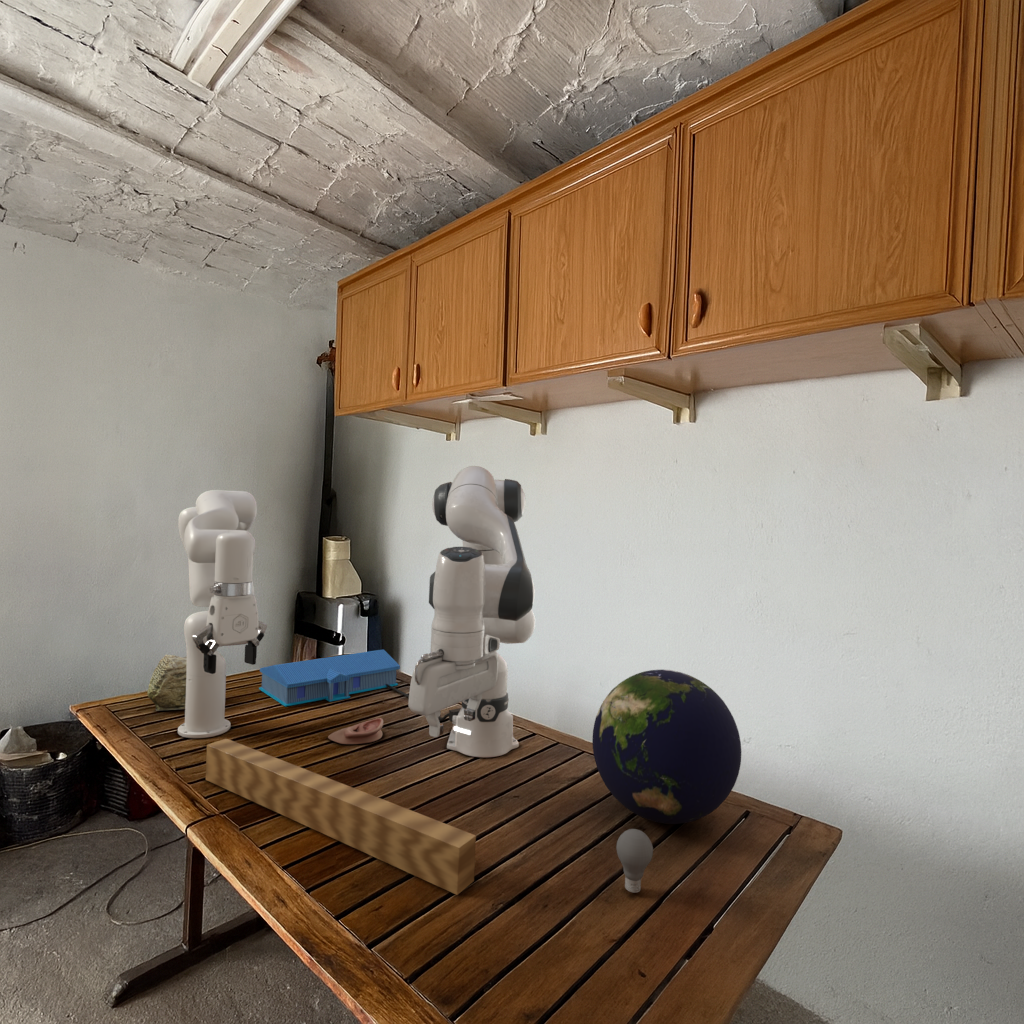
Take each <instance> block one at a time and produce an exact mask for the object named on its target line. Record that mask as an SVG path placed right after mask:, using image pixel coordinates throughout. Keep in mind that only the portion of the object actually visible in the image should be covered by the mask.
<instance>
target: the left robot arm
mask: <svg viewBox="0 0 1024 1024" xmlns="http://www.w3.org/2000/svg"><path fill="white" fill-rule="evenodd" d="M257 513H258V503H257V500H256V498H255V496H254V495H253V494H252V493H251V492H249V491H246V490H225V489H211V490H210V489H209V490H206V491H204V492H202V493H200V494H199V496H197V498H196V501H195V506H190V507H187V508H184V509H182V510H181V511H180V513H179V516H178V520H177V521H178V522H177V523H178V532H179V537H180V540H181V543H182V546H183V548H184V550H185V553H186V555H187V561H188V584H189V585H188V586H189V587H188V588H189V589H188V590H189V599H190V603H192V605H193V606H195V607H198V608H208V610H203V611H197V612H193V613H191V614H189V615H188V616H187V618H186V619H185V620H184V624H183V633H184V641H185V651H186V652H185V653H186V657H187V669H186V701H185V709H184V722H182V724H180V725H179V726H178V727H177V734H178V735H179V736H180V737H182V738H188V739H207V738H212V737H216V736H220V735H222V734H224V733H227V732H228V731H230V729H231V727H232V725H231V723H232V722H231V721H230V720H228V719H226V718H225V715H226V692H227V691H226V689H227V661H226V659H225V657H224V656H223V655H222V653H220V651H218V650H217V649H218V648H221V647H230V646H241V645H245V646H244V660H243V661H244V663H245V664H249V665H253V666H254V665H256V664H257V654H258V652H257V651H258V647H259V646H260V644H261V643H260V642H261V641H262V639H263V638H264V637H265V633H266V631H267V630H268V629H267V628H268V627H269V626H268V624H267V623H264V622H262V621H261V620H259V609H258V602H257V598H256V594H255V586H254V581H253V575H254V574H253V573H254V572H253V571H254V555H255V554H256V549H257V548H256V547H257V544H256V539H255V537H254V536H253V534H252V533H251V532H250V530H251V527H252V525H254V523H255V519H256V517H257Z"/></svg>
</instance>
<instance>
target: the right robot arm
mask: <svg viewBox="0 0 1024 1024" xmlns="http://www.w3.org/2000/svg"><path fill="white" fill-rule="evenodd" d="M526 499H527V498H526V495H525V491H524V489H523V488H522V484H521V483H520V482H519V481H517V480H515V479H509V478H505V479H495V478H494V476H493V474H492V473H491V472H490V471H489V470H488V469H486V468H485V467H482V466H479V465H468V466H466V467H463V468H462V469H461V470H460V471H458V472H457V474H456V475H455V477H454V479H453V480H452V481H448V482H444V483H442V484H439V486H437V487H436V489H435V490H434V494H433V497H432V503H431V505H432V506H431V507H432V511H433V514H434V516H435V519H436V522H438V523H439V524H440V525H441V526H444V527H445V526H446V527H448V528H449V530H450V531H451V533H452V534H453V535H454V536H455V537H456V538H458V539H460V540H461V541H462V546H452V547H446V548H444V549H442V550H441V551H440V552H439V553H438V557H437V561H436V567H435V571H434V572H432V573H431V575H429V576H430V577H429V587H428V588H429V589H428V590H429V591H428V604H429V605H430V606H431V607H432V609H433V610H434V615H433V619H432V622H431V632H430V653H424V654H422V655H421V656H420V658H419V659H418V661H417V662H416V663H415V664H414V669H413V670H412V674H411V679H410V686H409V691H408V692H409V693H406V692H404V691H402V690H400V689H398V688H396V687H395V686H390V685H388V684H386V686H387V687H386V688H388V689H390V690H392V691H394V692H397V693H399V694H400V695H402V696H404V697H406V698H408V701H407V702H408V705H407V706H408V708H409V710H410V712H412V713H413V714H417V715H420V716H423V717H425V719H426V722H427V724H428V725H429V726H428V727H429V729H428V730H429V731H428V734H429V736H430V737H433V738H438V737H440V736H442V735H443V734H444V727H445V726H444V724H443V723H441V722H443V721H445V720H446V719H447V718H448V721H449V722H451V723H452V727H451V730H450V733H449V737H448V740H447V742H446V749H447V750H451V751H455V752H458V753H461V754H463V755H465V756H469V757H475V758H495V757H499V756H500V757H501V756H504V755H506V754H508V753H509V752H510V751H511V750H514V749H517V748H519V747H520V743H519V741H518V740H517V738H515V736H514V715H513V714H512V713H511V712H510V711H509V709H508V708H509V693H508V692H507V690H508V671H509V668H508V663H507V661H506V659H505V658H504V657H503V656H502V655H501V654H499V652H498V650H500V648H501V647H500V646H501V644H505V645H510V644H511V645H512V644H515V645H516V644H524V643H526V642H527V641H528V640H529V639H530V638H531V637H532V636H533V634H534V631H535V629H536V616H535V613H534V610H533V606H534V603H535V594H536V590H535V589H536V588H535V583H534V579H533V577H532V574H531V571H530V569H529V567H528V564H527V561H526V558H525V554H524V550H523V546H522V543H521V539H520V535H519V532H518V529H517V526H516V522H518V521H520V519H521V518H523V514H524V512H525V510H526V505H527V500H526ZM459 703H461V707H460V708H453V709H449V710H448V713H446V714H445V715H443V717H441V713H442V712H441V711H442V710H445V709H447V708H451V707H452V706H454V705H457V704H459Z"/></svg>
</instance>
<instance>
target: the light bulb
mask: <svg viewBox="0 0 1024 1024" xmlns="http://www.w3.org/2000/svg"><path fill="white" fill-rule="evenodd" d="M615 849H616V854H617V857H618V859H619V861H620V863H621V865H622V867H623V873H624V874H623V875H624V876H625V878H624V888H625V890H627V891H628V892H630V893H634V894H635V893H639V892H640V891H641V889H642V887H641V886H642V879H643V877H644V875H645V871H646V868H647V867H648V866H649V864H650V863H651V861H652V859H653V855H654V847H653V843H652V841H651V838H649V836H648V835H647V834H646V833H645V832H643V831H642V830H641V829H636V828H629V829H627V830H625V831H623V832H622V833H621V834H620V835H619V837H618V839H617V841H616V847H615Z"/></svg>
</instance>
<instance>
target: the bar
mask: <svg viewBox="0 0 1024 1024" xmlns="http://www.w3.org/2000/svg"><path fill="white" fill-rule="evenodd" d="M205 759H206V760H205V781H207V782H210V783H211V784H214V785H215V786H217V787H220V788H223V789H224V790H227V791H229V792H231V793H233V794H235V795H238V796H240V797H242V798H244V799H246V800H248V801H250V802H253V803H255V804H257V805H259V806H261V807H264V808H266V809H268V810H270V811H273V812H275V813H277V814H280V815H281V816H284V817H285V818H287V819H290V820H292V821H295V822H297V823H298V824H301V825H303V826H305V827H307V828H309V829H312V830H314V831H316V832H318V833H320V834H322V835H325V836H327V837H330V838H332V839H333V840H336V841H338V842H340V843H342V844H344V845H347V846H349V847H351V848H354V849H355V850H357V851H360V852H362V853H364V854H366V855H368V856H371V857H373V858H375V859H377V860H380V861H381V862H383V863H385V864H388V865H390V866H392V867H395V868H397V869H399V870H401V871H404V872H406V873H407V874H410V875H412V876H414V877H417V878H419V879H421V880H423V881H425V882H428V883H429V884H432V885H434V886H436V887H438V888H440V889H442V890H445V891H447V892H449V893H451V894H454V895H456V896H458V895H459V894H461V892H463V891H464V890H465V889H466V888H468V886H470V885H471V884H472V883H473V882H475V867H476V866H475V865H476V845H477V842H476V841H477V835H476V834H473V833H470V832H468V831H466V830H463V829H461V828H458V827H455V826H453V825H450V824H448V823H445V822H442V821H440V820H437V819H435V818H432V817H429V816H427V815H424V814H421V813H419V812H416V811H414V810H412V809H409V808H407V807H404V806H401V805H398V804H396V803H393V802H391V801H389V800H385V799H383V798H381V797H378V796H375V795H372V794H370V793H367V792H365V791H364V790H360V789H357V788H355V787H353V786H349V785H347V784H345V783H342V782H339V781H337V780H334V779H332V778H329V777H327V776H324V775H321V774H319V773H316V772H314V771H311V770H309V769H305V768H304V767H301V766H298V765H296V764H293V763H290V762H289V761H285V760H283V759H280V758H278V757H275V756H272V755H270V754H267V753H264V752H262V751H260V750H257V749H254V748H251V747H249V746H247V745H245V744H242V743H239V742H237V741H234V740H231V739H230V738H223V739H220V740H217V741H214V742H212V743H208V744H207V745H206V758H205Z"/></svg>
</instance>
